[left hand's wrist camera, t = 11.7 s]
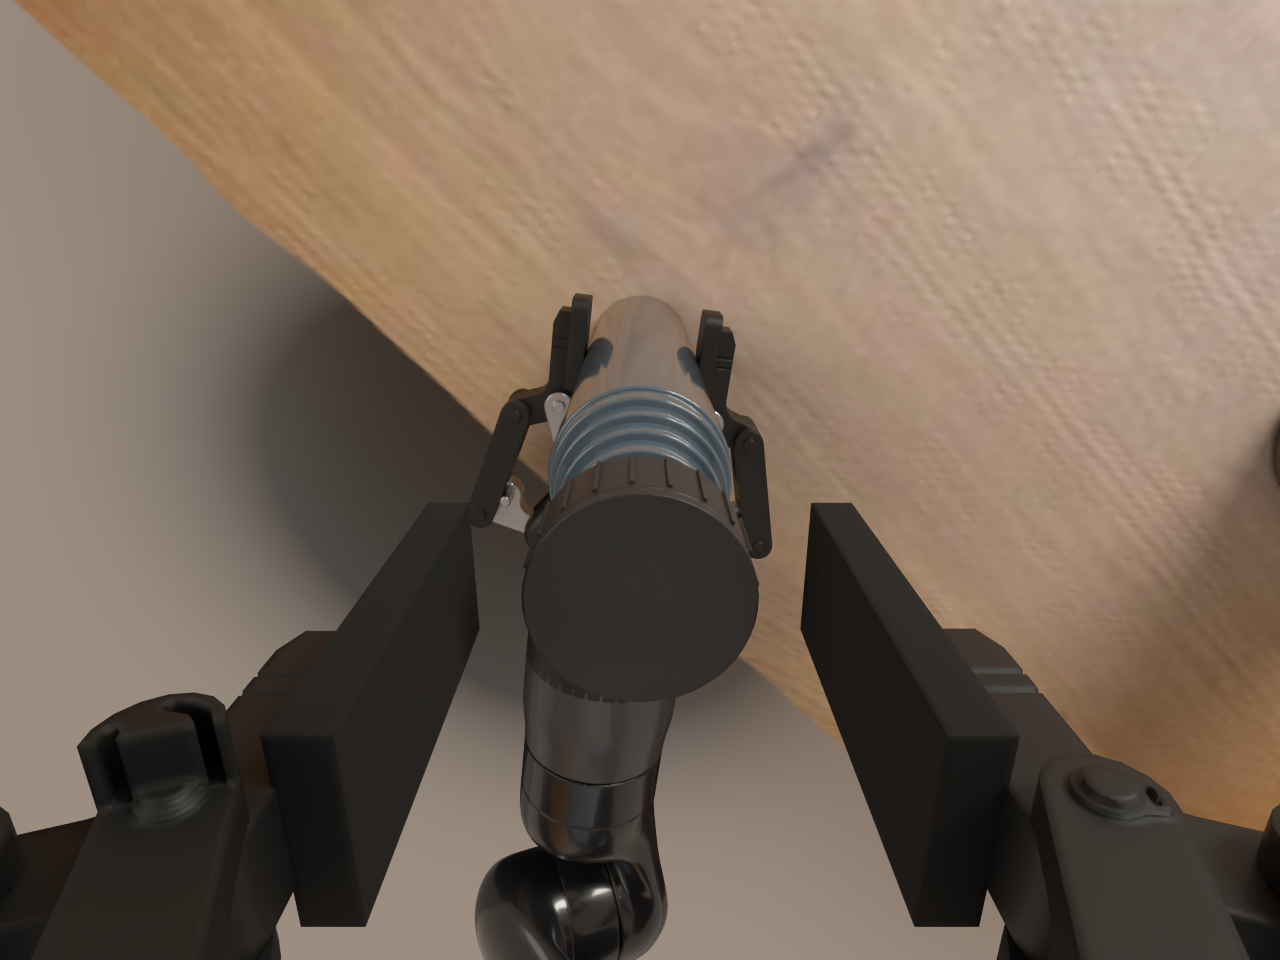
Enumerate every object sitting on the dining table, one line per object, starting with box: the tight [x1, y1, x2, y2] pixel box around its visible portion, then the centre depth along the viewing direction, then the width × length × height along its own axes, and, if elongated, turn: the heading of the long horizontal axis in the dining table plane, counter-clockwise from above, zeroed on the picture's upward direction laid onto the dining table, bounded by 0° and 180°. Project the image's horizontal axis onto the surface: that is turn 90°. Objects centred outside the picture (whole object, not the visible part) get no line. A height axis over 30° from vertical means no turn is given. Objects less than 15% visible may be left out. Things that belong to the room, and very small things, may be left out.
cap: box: [522, 454, 759, 702], centre depth 14 cm, size 4×4×2 cm
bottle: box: [549, 296, 732, 501], centre depth 25 cm, size 5×5×26 cm
